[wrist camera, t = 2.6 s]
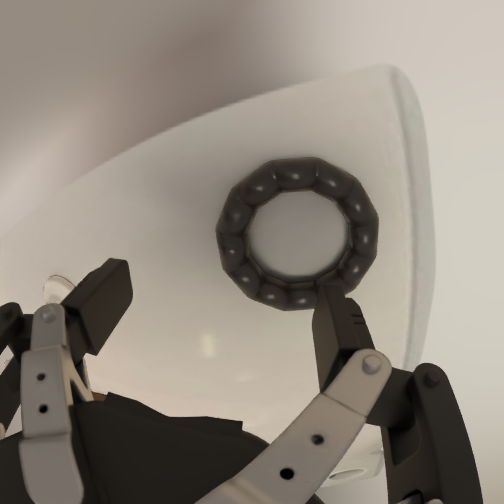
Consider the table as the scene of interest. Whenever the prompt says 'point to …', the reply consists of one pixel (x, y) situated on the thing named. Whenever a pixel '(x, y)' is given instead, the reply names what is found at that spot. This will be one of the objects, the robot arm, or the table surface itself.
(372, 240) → the ring
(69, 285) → the chess piece
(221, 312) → the table surface
